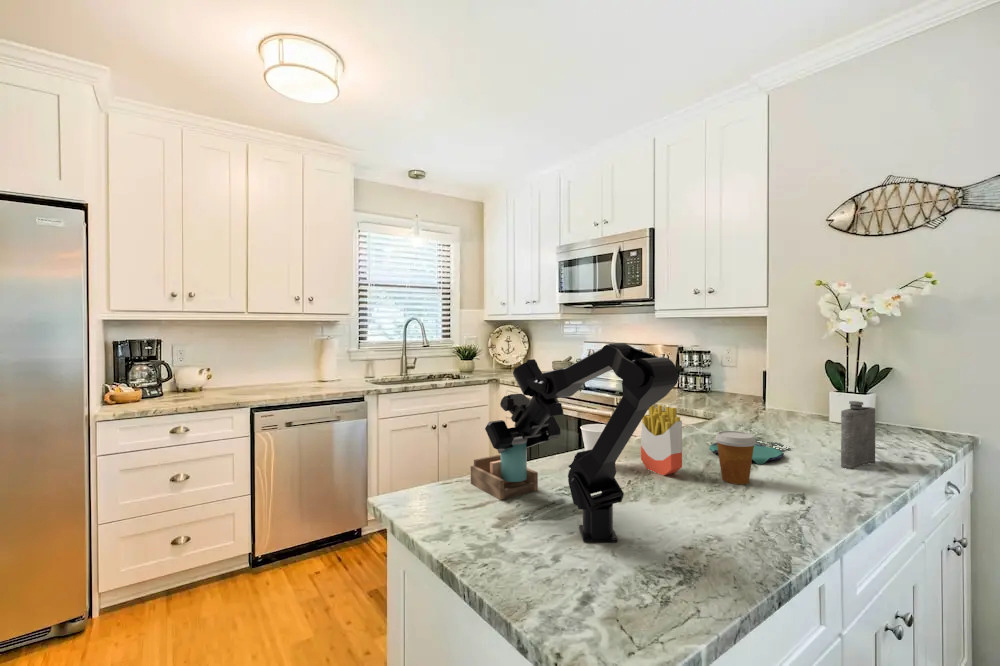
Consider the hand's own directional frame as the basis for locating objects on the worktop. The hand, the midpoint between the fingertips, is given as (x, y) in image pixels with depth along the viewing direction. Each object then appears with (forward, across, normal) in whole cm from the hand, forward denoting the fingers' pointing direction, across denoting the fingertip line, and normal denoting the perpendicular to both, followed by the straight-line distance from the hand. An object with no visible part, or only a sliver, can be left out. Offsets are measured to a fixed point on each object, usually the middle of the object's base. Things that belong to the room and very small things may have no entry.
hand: (510, 449), depth 116 cm
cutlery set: (-3, -82, +18) cm, 85 cm away
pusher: (+8, 0, +5) cm, 9 cm away
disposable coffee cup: (-12, -52, +26) cm, 59 cm away
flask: (-20, -93, +35) cm, 102 cm away
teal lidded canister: (+4, 0, +6) cm, 7 cm away
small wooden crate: (+10, 0, +4) cm, 11 cm away
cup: (+9, -32, +6) cm, 34 cm away
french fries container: (-1, -42, +16) cm, 45 cm away
